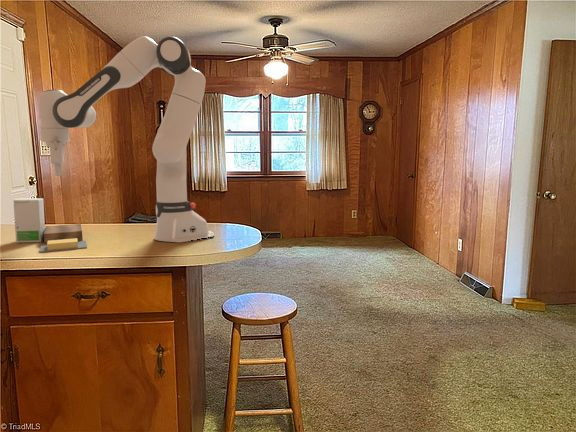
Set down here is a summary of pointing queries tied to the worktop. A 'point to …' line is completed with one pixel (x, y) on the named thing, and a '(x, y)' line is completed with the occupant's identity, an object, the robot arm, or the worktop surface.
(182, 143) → the robot arm
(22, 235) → the skincare box
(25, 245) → the worktop surface
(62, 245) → the yellow rectangular block
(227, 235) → the worktop surface
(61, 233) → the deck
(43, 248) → the mat
